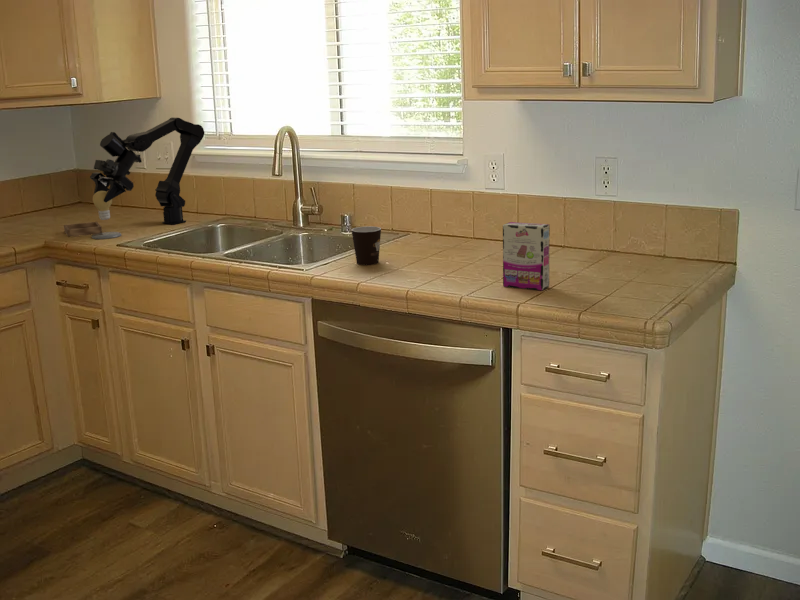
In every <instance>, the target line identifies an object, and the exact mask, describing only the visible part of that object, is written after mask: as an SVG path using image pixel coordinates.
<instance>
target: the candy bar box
mask: <svg viewBox="0 0 800 600" xmlns="http://www.w3.org/2000/svg"><path fill="white" fill-rule="evenodd" d="M550 230H551V229H550V224H549V223H547V224H546V223H531V222H530V223H529V222H518V221H516V222H515V221H514V222H513V221H510V222H507V223H505V224H502V286H503V287H505V288H512V287H513V288H514V289H515V288H516V289H524V290H533V291H544V290H546V289H548V288H549V287H550V232H551V231H550ZM513 288H512V289H513Z"/></svg>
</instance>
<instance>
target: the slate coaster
mask: <svg viewBox="0 0 800 600" xmlns="http://www.w3.org/2000/svg"><path fill="white" fill-rule="evenodd" d="M120 237H122V233H121V232H118V231H105V232H103V231H102V233H97V234H93V235H91V239H93V240H109V239H110V240H111V239H115V238H120Z"/></svg>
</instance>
